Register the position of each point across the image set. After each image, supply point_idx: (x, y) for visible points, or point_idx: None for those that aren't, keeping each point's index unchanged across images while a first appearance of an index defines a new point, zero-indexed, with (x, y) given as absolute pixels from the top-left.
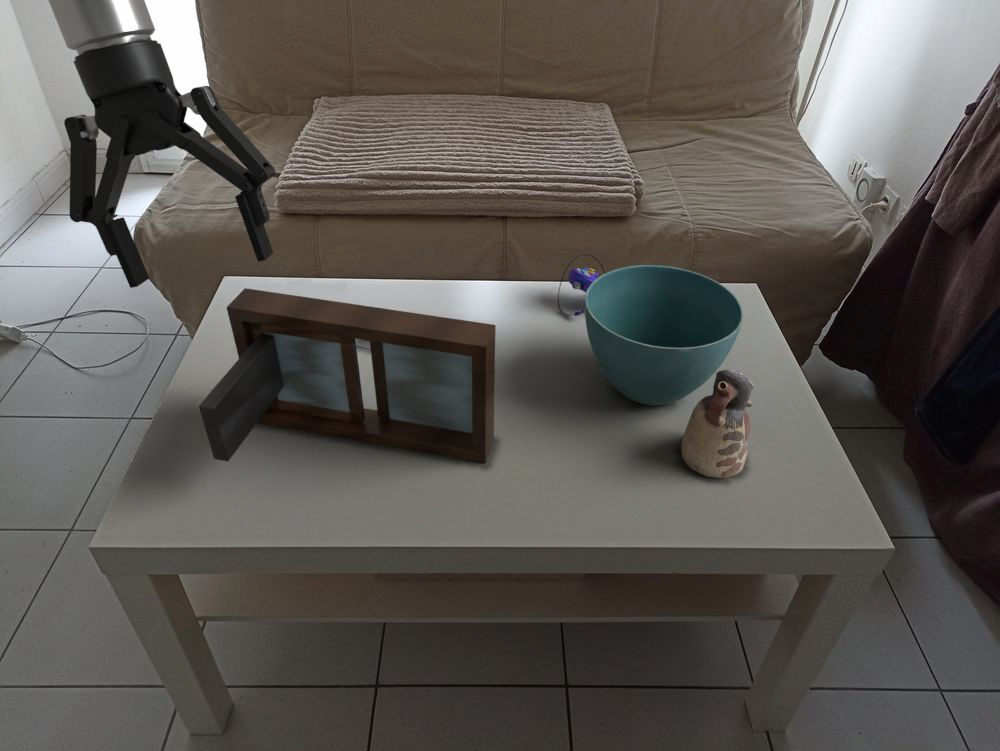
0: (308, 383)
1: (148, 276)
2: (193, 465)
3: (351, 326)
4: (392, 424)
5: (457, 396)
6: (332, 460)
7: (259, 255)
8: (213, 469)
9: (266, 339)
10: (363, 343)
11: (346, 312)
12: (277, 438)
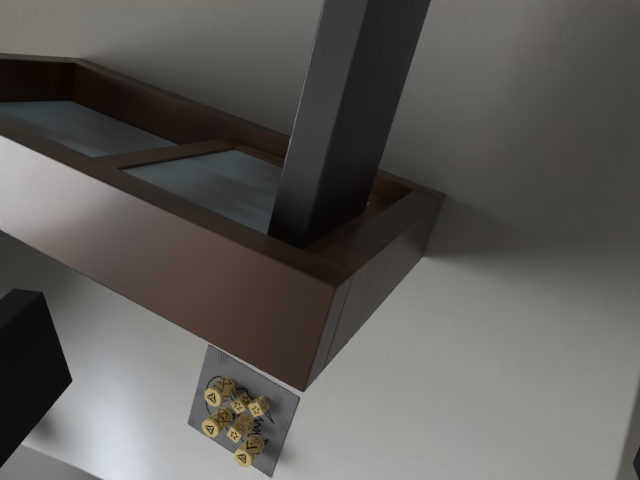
0: (275, 185)
1: (636, 471)
2: (562, 62)
3: (9, 139)
4: (187, 138)
5: (28, 112)
6: (287, 71)
7: (9, 304)
8: (513, 48)
9: (280, 218)
10: (274, 394)
11: (32, 206)
12: (393, 140)
